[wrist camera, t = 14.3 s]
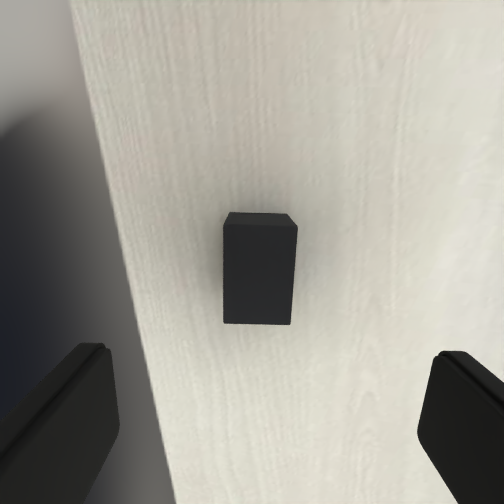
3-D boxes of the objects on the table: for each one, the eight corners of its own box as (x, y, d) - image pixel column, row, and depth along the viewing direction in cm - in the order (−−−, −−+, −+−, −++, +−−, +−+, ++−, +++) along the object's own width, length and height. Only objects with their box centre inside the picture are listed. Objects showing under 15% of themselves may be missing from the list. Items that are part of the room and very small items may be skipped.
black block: (229, 212, 19) (223, 223, 15) (287, 213, 19) (298, 226, 15) (228, 292, 21) (223, 324, 17) (282, 293, 21) (290, 325, 17)
